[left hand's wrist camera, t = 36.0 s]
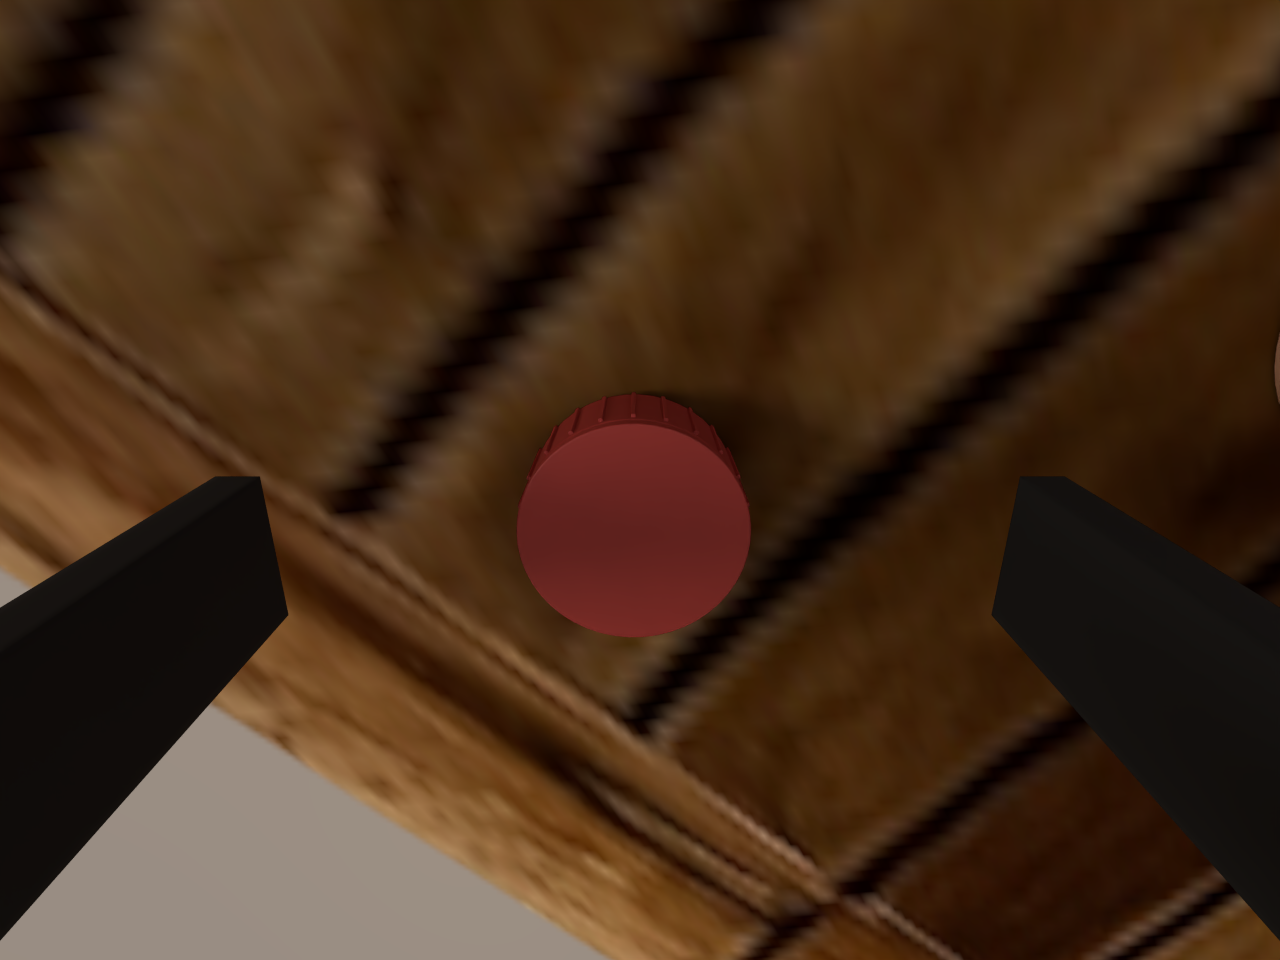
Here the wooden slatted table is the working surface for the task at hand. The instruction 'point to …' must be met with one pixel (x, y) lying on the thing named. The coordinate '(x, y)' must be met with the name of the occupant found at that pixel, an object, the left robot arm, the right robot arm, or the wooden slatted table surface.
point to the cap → (633, 517)
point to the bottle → (1277, 369)
